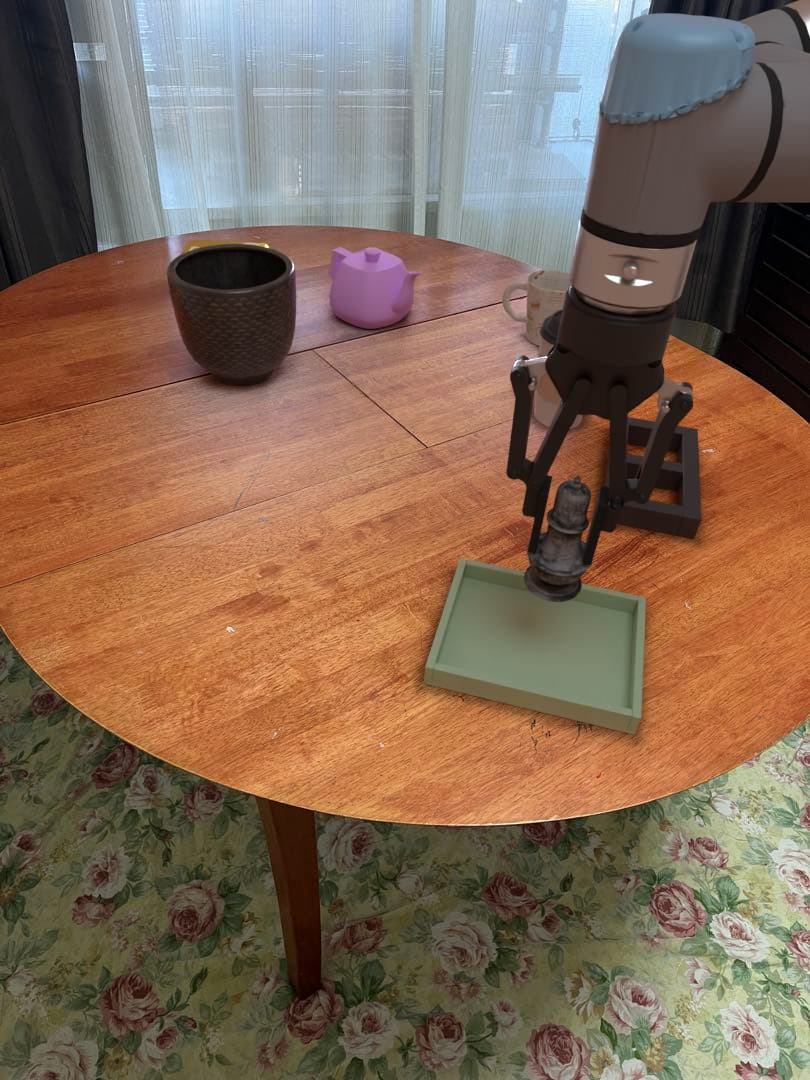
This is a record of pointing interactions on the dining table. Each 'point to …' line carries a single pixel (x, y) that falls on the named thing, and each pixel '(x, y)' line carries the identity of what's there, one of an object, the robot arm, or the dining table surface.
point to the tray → (541, 647)
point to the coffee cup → (547, 393)
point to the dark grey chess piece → (561, 546)
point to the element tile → (204, 243)
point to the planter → (235, 309)
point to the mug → (539, 299)
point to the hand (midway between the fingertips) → (561, 548)
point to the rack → (665, 483)
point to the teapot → (370, 287)
